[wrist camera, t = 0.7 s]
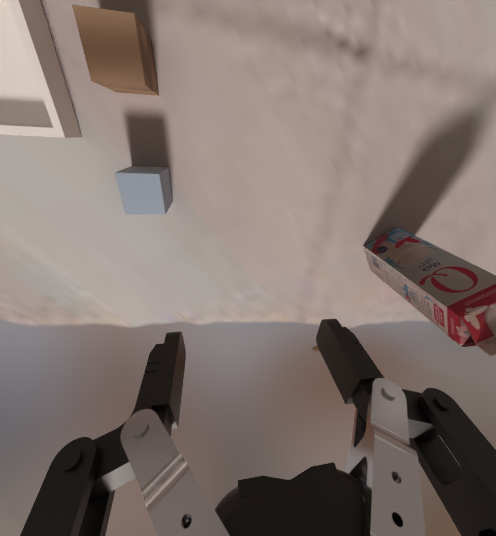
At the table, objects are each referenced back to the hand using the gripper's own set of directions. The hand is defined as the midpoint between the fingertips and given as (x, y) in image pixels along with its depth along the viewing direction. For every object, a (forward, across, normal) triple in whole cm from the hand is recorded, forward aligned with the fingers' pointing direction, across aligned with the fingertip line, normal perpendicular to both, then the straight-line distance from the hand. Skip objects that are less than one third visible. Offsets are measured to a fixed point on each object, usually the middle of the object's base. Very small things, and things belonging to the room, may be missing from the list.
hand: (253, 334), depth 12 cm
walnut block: (+25, +10, -15) cm, 31 cm away
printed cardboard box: (+24, -30, +9) cm, 39 cm away
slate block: (+24, +10, -3) cm, 27 cm away
